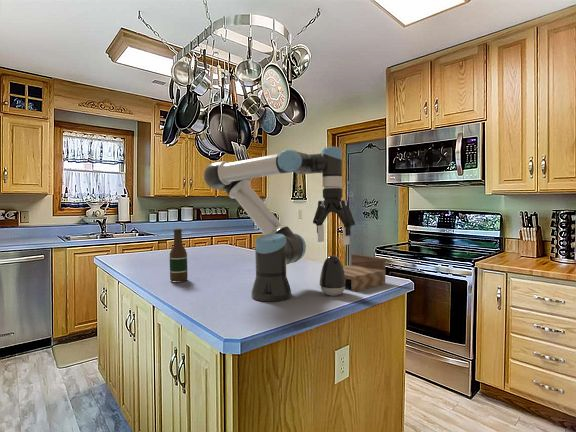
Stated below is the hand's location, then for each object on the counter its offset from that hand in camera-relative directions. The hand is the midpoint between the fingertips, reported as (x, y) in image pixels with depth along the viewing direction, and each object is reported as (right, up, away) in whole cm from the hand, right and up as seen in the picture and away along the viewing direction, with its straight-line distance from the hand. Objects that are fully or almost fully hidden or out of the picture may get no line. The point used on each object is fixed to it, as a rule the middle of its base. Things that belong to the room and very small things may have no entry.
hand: (333, 243), depth 137 cm
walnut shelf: (+11, -19, +17) cm, 28 cm away
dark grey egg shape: (0, -20, +1) cm, 20 cm away
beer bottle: (-68, -20, +28) cm, 76 cm away
